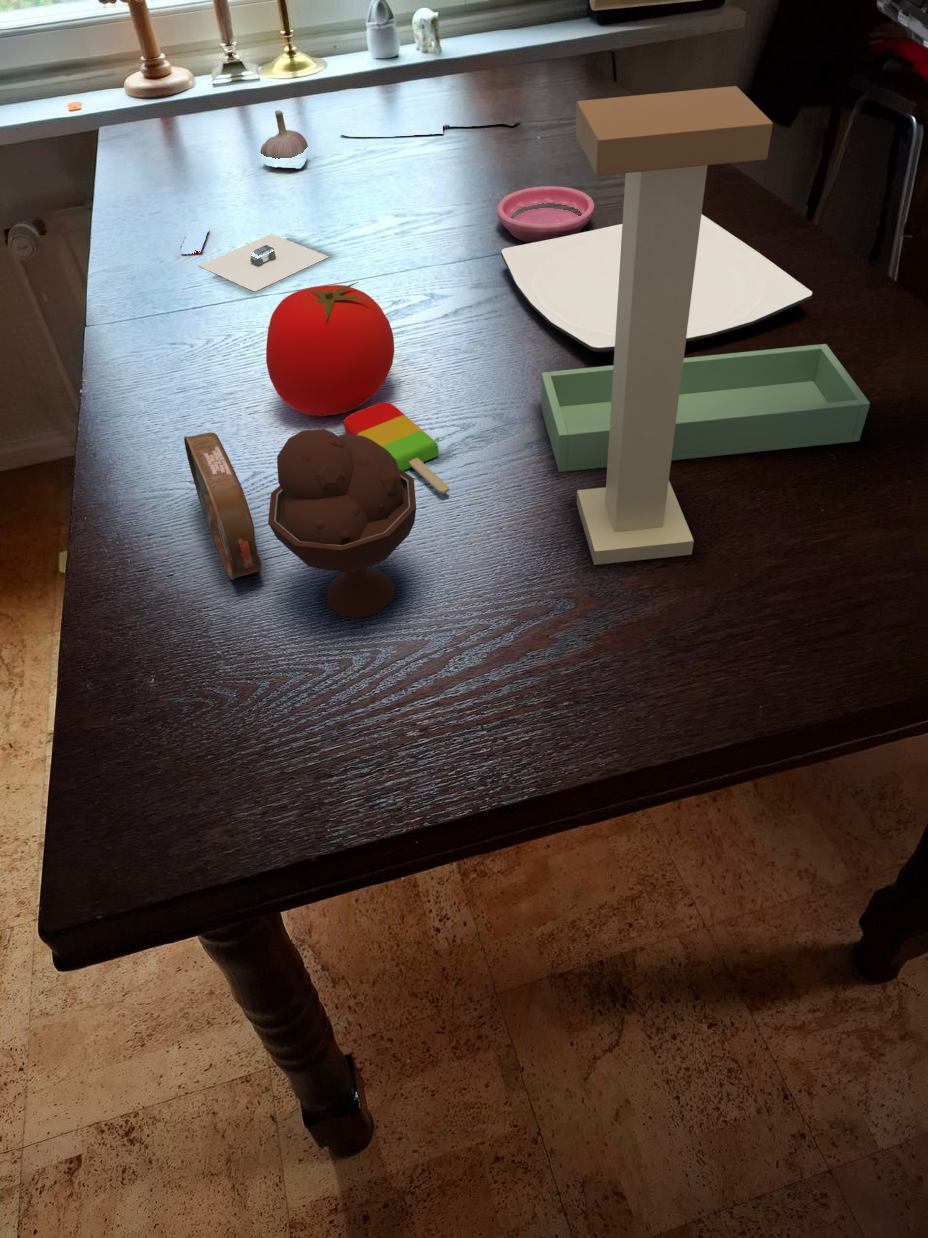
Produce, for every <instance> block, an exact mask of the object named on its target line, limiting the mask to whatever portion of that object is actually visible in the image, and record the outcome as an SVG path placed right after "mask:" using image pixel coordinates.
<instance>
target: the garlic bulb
mask: <svg viewBox="0 0 928 1238" xmlns="http://www.w3.org/2000/svg"><path fill="white" fill-rule="evenodd" d="M274 114H275V119H276V125H277V128H278V129H277V130H278V133H277V134H276V135H274V136H271V137H269V138H267V140H266V141H265V142H264V143H263V144H262V146H261V148H260V153H261V154H263V155H264V156H266V157H272V158H275V159H276V158H278V159H280V158H292V157H295V156H297V155H298V154H301V153H303V152H304V150H305V149H306V148H307V147H308V148H309V143H308V142H307V139H306V138H305V137H304V135H303V134H301V133H300V132H298V131H296V130H291V129H287V128H286V123H285V118H284V113H283V111H282V110H279V109H278V110H275V111H274Z"/></svg>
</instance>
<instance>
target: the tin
mask: <svg viewBox="0 0 928 1238" xmlns="http://www.w3.org/2000/svg"><path fill="white" fill-rule="evenodd" d="M183 442H184V447H185V453H186V456H187V457H186V458H187V461H188V464H189V469H190V473H191V477H192V479H193V482H194V487H195V491H196V494H197V498H198V501H199V504H200V508H201V510H202V513H203V517H204V519H205V522H206V524H207V527H208V529H209V533H210V534H211V537H212V539H213V542H214V544H215V546H216V549H217V552H218V554H219V557H220V559H221V562H222V564H223V567H224V570H225V572H226V574H227V577H228V578H229V579H230V580H235V579H236V578H240V577H245V576H246V575H251V574H255V573H257V572H259V571H260V570H261V569H262V560H261V558H260V556H259V552H258V547H257V543H256V537H255V536H256V533H255V531H256V530H255V526H254V521H253V517H252V514H251V510H250V507H249V503H248V499H247V498H246V495H245V492H244V489H243V487H242V484H241V482H240V480H239V477H238V475H237V474H236V471H235V468H234V466H233V464H232V462H231V460H230V458H229V456H228V454H227V452H226V449H225V448H224V446H223V444H222V442H221V440H220V438H219V436H218V434H216V432H205V433H200V434H195V435H190V436H188V435H185V436H184V437H183Z"/></svg>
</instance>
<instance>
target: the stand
mask: <svg viewBox="0 0 928 1238" xmlns="http://www.w3.org/2000/svg"><path fill="white" fill-rule="evenodd" d="M773 126H774V122H773V121H772V120H771V119H770V118H769V117H768V116H767V115H766V114H765V113H764V112H763V111H762V110H761V109H759V107H758V106H757V105H756V104H755V103H754V102H753V101H752V100H751V99H750V98H749V97H748V96H747V95H746V94H745V93H744V92H743V91H742V90H741V89H740V88H739V87H738V86H737V85H733V86H721V87H711V88H700V89H691V90H680V91H669V92H659V93H658V92H657V93H647V94H638V95H637V94H636V95H627V96H626V95H625V96H617V97H606V98H605V97H604V98H595V99H585V100H584V99H583V100H577V101H576V105H575V136H576V139H577V140H578V142H579V144H580V146H581V148H582V151H583V153H584V154H585V157H586V158H587V160H588V163H589V164H590V166H591V167H592V169H593V171H594V173H595V175H596V177H600V176H610V175H612V176H613V175H619V174H620V175H621V174H625V176H624V177H625V178H624V195H623V209H622V210H623V211H622V223H621V224H622V240H621V255H620V271H619V287H618V303H617V319H616V335H615V351H614V352H613V353H614V354H613V365H614V367H613V383H612V398H611V414H610V430H609V446H608V462H607V467H606V480H605V487H596V488H585V489H577V490H576V506H577V507H576V508H577V510H578V513H579V518H580V521H581V524H582V528H583V531H584V535H585V538H586V542H587V545H588V549H589V553H590V556H591V559H592V563H593V565H594V566H597V565H607V564H615V563H624V562H625V563H626V562H635V561H643V560H653V559H662V558H670V557H671V558H673V557H682V556H692V555H693V549H694V543H695V540H694V537H693V535H692V533H691V530H690V528H689V525H688V523H687V520H686V518H685V515H684V513H683V511H682V509H681V506H680V504H679V501H678V499H677V495H676V494H675V491H674V489H673V486H672V484H671V482H670V473H671V466H672V461H671V458H672V450H673V442H674V434H675V425H676V417H677V409H678V401H679V393H680V385H681V377H682V369H683V360H684V358H685V352H686V336H687V328H688V320H689V312H690V304H691V295H692V287H693V279H694V271H695V263H696V255H697V247H698V239H699V230H700V222H701V214H702V215H703V205H704V196H705V190H706V181H707V174H708V173H707V172H708V166H715V165H724V164H735V163H736V164H737V163H745V162H755V161H765V160H768V155H769V151H770V150H769V149H770V143H771V137H772V131H773Z"/></svg>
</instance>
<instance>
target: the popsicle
mask: <svg viewBox="0 0 928 1238" xmlns="http://www.w3.org/2000/svg"><path fill="white" fill-rule="evenodd" d="M343 424H344V431H345V434H349V435H359V436H365V437H367V438H369V439H371V440H373V441H374V442H376V443H377V444H379V445H380V446H382V447H383V448H385V449H386V450H388V452H389V453H390V454H391V455H392V456H393V457H394V458H395V460H396V462H397V465H398V468H399V469H401V470H402V471H406V470H408V469H411V468H412V469H413V470H415V471H416V473H418V474H419V475H420V476H421V477H422V478H423V479H424V480H425V481H426V482H427V483H429V485H430V486H432V487H433V488H434V490H436V492H438V493H439V494H447V493H448V492H449V491H450V486H449V485H448V484H447V483H446V482H445V481H444V480H442V479H441V477H439V476H438V475H437V474H436V473H435V472H434V471H432V469H430V467H428V466H427V465H426V464H425V463H424V462H427V461H429V460H432V459H434V458H436V457H438V456H439V445H438V442H436V441H435V440H434V439H433V438H431V436H429V434H427V433H426V432H425V431H424V430H422V429H421V427H419V426H418V425H417V424H416V423H415V422H413V421H412V420H411V419H410V418H409V417H408V416H406V414H404V412H402V411H401V410H400V409H399V408H398V407H396V405H394V404H393V403H390V402H386V401H384V402H379V403H375V404H372V405H370V406H367V407H365V408H363V409H360V410H358V411H355V412H353V413H351V414H349V415H348V416H346V417H345V419H344V420H343Z"/></svg>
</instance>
